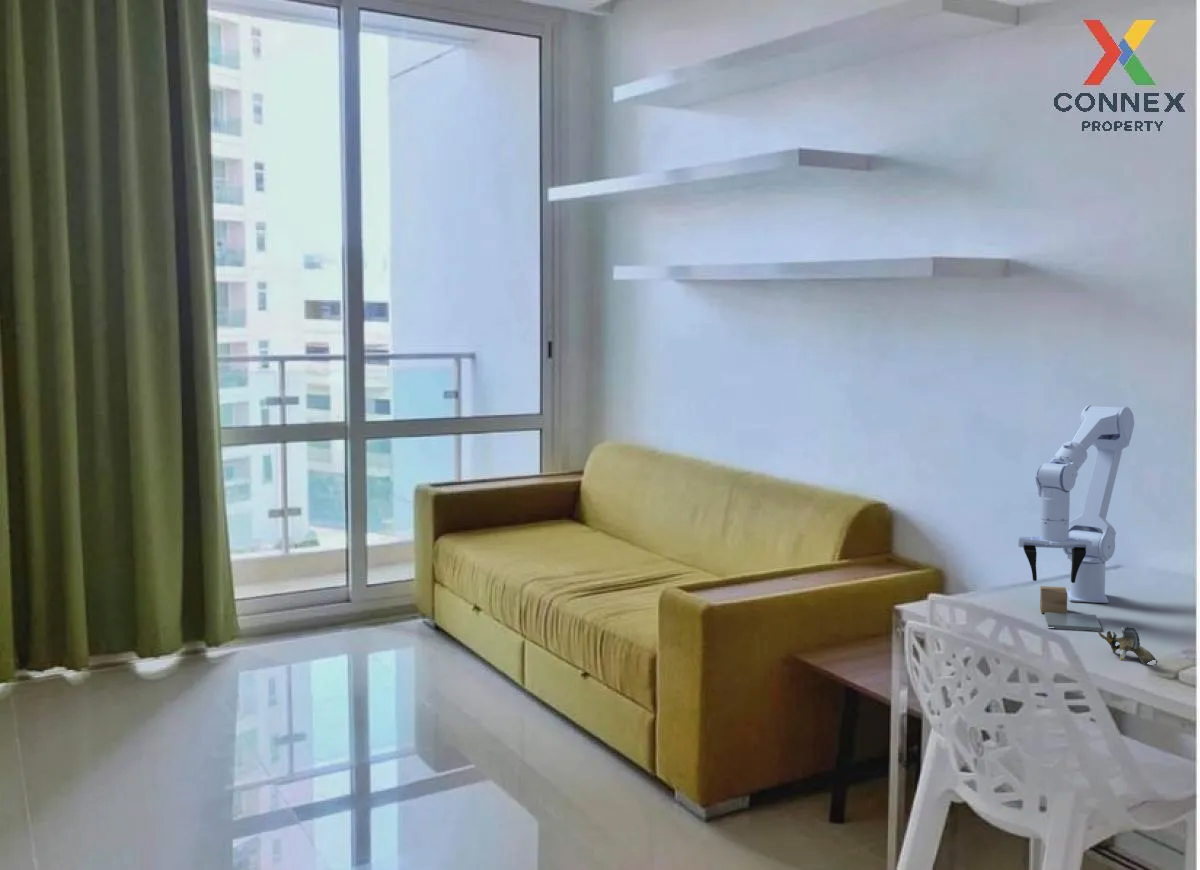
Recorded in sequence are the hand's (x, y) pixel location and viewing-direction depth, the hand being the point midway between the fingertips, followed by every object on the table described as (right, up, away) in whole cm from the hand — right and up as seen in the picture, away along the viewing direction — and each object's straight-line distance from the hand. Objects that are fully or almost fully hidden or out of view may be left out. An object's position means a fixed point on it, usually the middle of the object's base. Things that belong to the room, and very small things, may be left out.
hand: (1053, 580), depth 237 cm
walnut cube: (0, -7, +1) cm, 7 cm away
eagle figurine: (+1, -11, -33) cm, 34 cm away
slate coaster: (0, -8, -9) cm, 12 cm away
